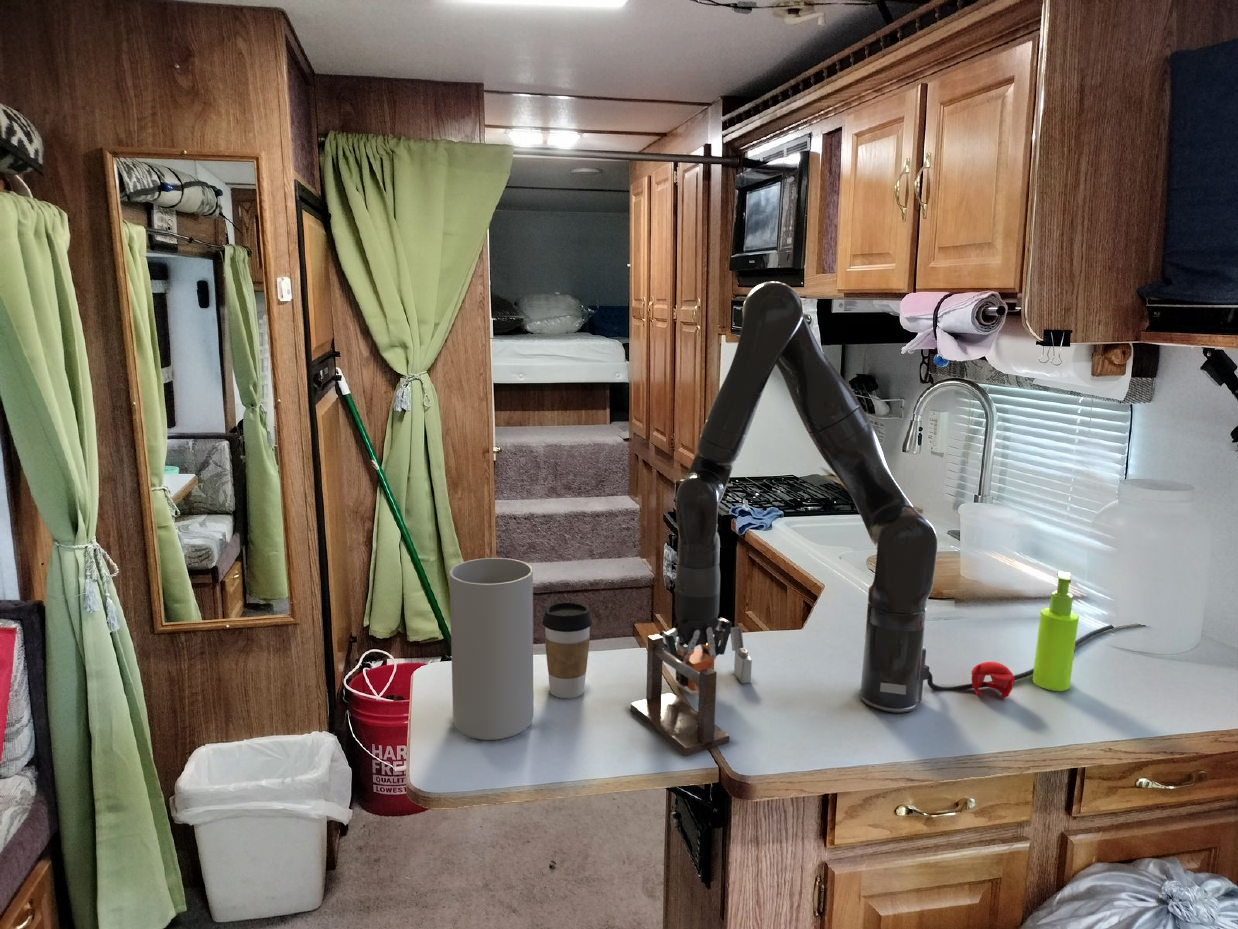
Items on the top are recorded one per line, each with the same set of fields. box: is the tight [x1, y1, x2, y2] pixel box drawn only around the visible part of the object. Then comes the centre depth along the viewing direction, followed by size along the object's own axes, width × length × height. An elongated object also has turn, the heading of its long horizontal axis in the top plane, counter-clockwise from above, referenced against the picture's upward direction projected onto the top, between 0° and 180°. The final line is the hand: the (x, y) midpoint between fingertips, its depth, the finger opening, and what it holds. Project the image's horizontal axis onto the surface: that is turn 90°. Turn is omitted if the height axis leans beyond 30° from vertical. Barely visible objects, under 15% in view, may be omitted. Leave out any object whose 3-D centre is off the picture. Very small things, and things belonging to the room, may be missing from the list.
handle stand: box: [630, 633, 731, 757], centre depth 132 cm, size 8×16×12 cm, turn 30°
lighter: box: [729, 626, 753, 684], centre depth 151 cm, size 7×2×8 cm, turn 12°
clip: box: [682, 647, 715, 692], centre depth 146 cm, size 4×5×5 cm
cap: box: [971, 661, 1015, 700], centre depth 145 cm, size 8×6×6 cm
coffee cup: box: [541, 601, 593, 699], centre depth 143 cm, size 8×8×15 cm
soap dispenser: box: [1032, 570, 1080, 692], centre depth 149 cm, size 6×7×20 cm
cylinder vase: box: [449, 557, 534, 741], centre depth 131 cm, size 12×12×25 cm
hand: (694, 681), depth 147 cm, fingers closed on clip, 4 cm apart
